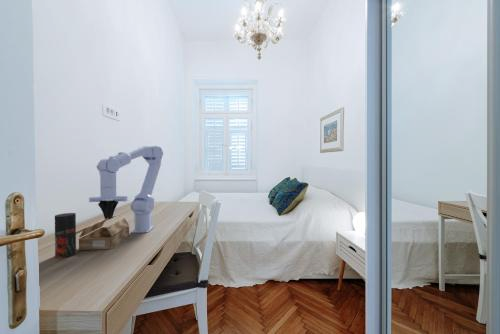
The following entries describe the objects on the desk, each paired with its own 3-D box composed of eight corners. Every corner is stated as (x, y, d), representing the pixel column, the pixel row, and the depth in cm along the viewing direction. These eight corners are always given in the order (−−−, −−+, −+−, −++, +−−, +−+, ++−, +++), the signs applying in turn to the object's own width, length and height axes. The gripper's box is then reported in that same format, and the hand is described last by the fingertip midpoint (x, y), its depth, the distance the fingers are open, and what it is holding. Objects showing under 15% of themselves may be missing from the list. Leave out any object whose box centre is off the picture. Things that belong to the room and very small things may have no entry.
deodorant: (80, 252, 83) (79, 213, 83) (62, 259, 77) (62, 217, 77) (68, 251, 85) (68, 212, 84) (50, 257, 79) (50, 216, 79)
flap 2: (128, 225, 102) (123, 218, 102) (129, 225, 102) (124, 218, 102) (111, 236, 87) (106, 228, 87) (112, 236, 87) (106, 227, 87)
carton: (102, 236, 101) (102, 226, 101) (129, 235, 103) (129, 226, 103) (78, 250, 85) (78, 239, 85) (110, 249, 86) (110, 238, 86)
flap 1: (101, 226, 101) (105, 218, 101) (101, 226, 101) (106, 218, 101) (79, 237, 86) (84, 228, 86) (79, 237, 86) (85, 228, 86)
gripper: (84, 188, 89) (84, 221, 89) (121, 187, 90) (122, 220, 91) (94, 186, 96) (94, 217, 96) (129, 185, 97) (129, 216, 98)
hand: (108, 218), depth 94 cm, fingers closed
